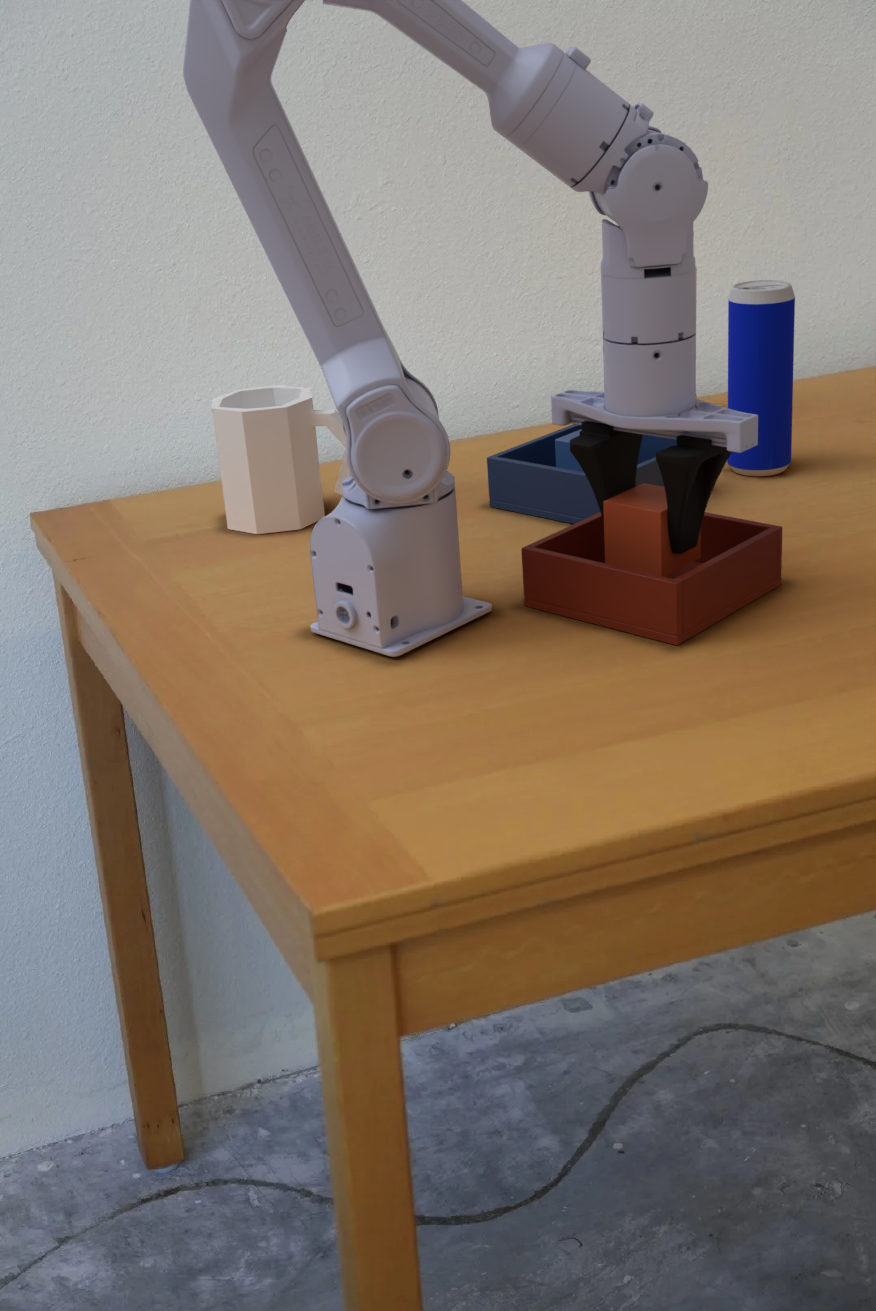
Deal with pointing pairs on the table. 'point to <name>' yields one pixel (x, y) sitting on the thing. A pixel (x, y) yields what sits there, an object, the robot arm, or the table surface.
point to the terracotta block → (642, 532)
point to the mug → (272, 457)
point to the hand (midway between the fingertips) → (652, 542)
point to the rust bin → (653, 579)
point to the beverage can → (762, 371)
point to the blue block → (566, 453)
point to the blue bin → (556, 478)
